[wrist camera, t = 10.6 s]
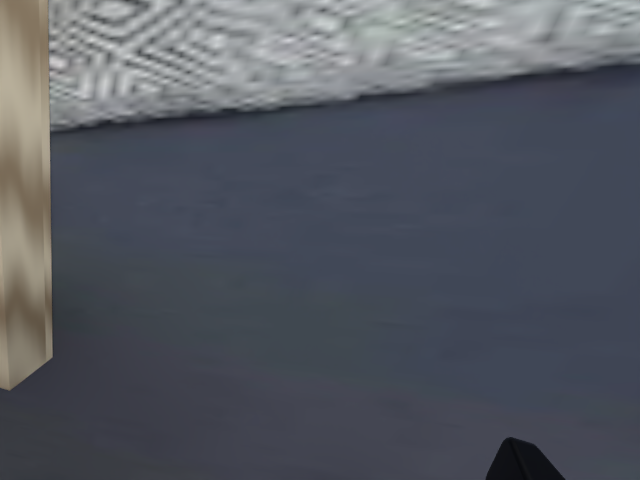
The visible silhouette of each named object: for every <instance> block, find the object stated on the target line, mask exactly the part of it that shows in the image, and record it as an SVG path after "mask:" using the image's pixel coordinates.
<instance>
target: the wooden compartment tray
mask: <svg viewBox="0 0 640 480" xmlns="http://www.w3.org/2000/svg"><path fill="white" fill-rule="evenodd" d="M52 357H53V348H52V271H51V194H50V117H49V39H48V0H0V388H3V389H6V390H9V391H10V390H11V389H13V388H14V387H15V386H17V385H18V384H19V383H20V382H22V381H23V380H24V379H25V378H27V377H28V376H29V375H31V374H32V373H33V372H34V371H36V370H37V369H38V368H40V367H41V366H42V365H43V364H45V363H46V362H47V361H48V360H50V359H51V358H52Z"/></svg>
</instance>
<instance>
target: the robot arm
mask: <svg viewBox="0 0 640 480" xmlns="http://www.w3.org/2000/svg"><path fill="white" fill-rule="evenodd" d="M486 480H565V478H564V477H563V476H562V475H561V474H560V473H559V472H558V470H557V469H556V468H555V467H554V466H553V465H552V463H551V462H550V461H549V460H548V459H547V458H546V457H545V455H544V454H543V453H542V452H541V451H540V450H539V449H538V448H537V446H535V445H534V444H532V443H529V442H526V441H522V440H519V439H516V438H513V437H509V438H506V439H505V440H504V441H503V442H502V444H501V446H500V448H499V450H498V452H497V454H496V457H495V459H494V461H493V463H492V465H491V467H490V469H489V471H488V473H487V476H486Z"/></svg>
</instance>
